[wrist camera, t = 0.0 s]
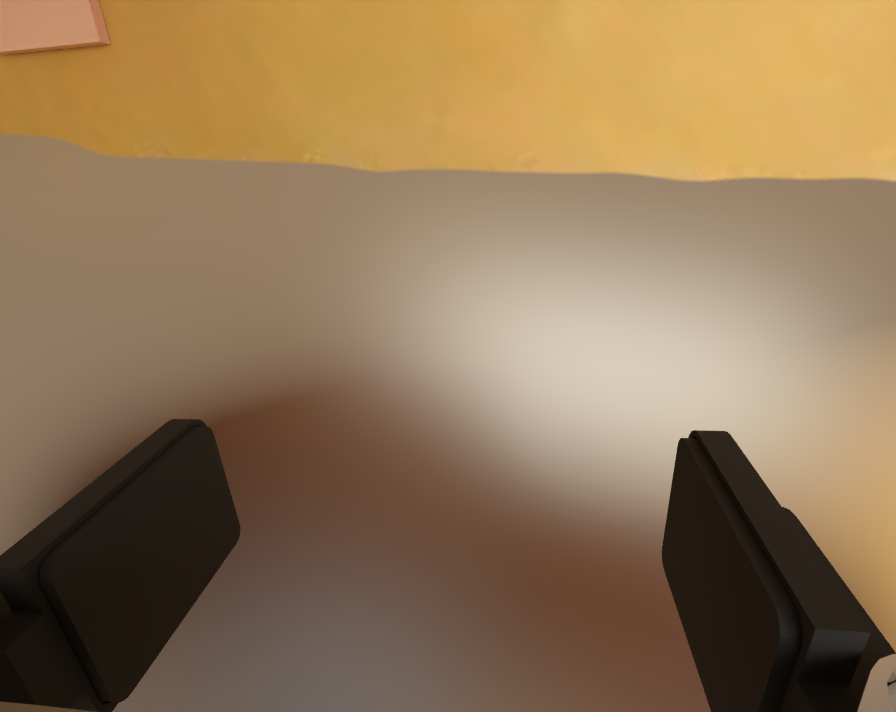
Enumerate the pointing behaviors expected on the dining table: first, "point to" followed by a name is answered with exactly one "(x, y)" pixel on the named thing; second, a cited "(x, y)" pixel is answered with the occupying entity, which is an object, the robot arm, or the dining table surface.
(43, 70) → the dining table surface
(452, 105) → the dining table surface
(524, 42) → the dining table surface
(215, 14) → the dining table surface
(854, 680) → the robot arm
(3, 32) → the terracotta pad
